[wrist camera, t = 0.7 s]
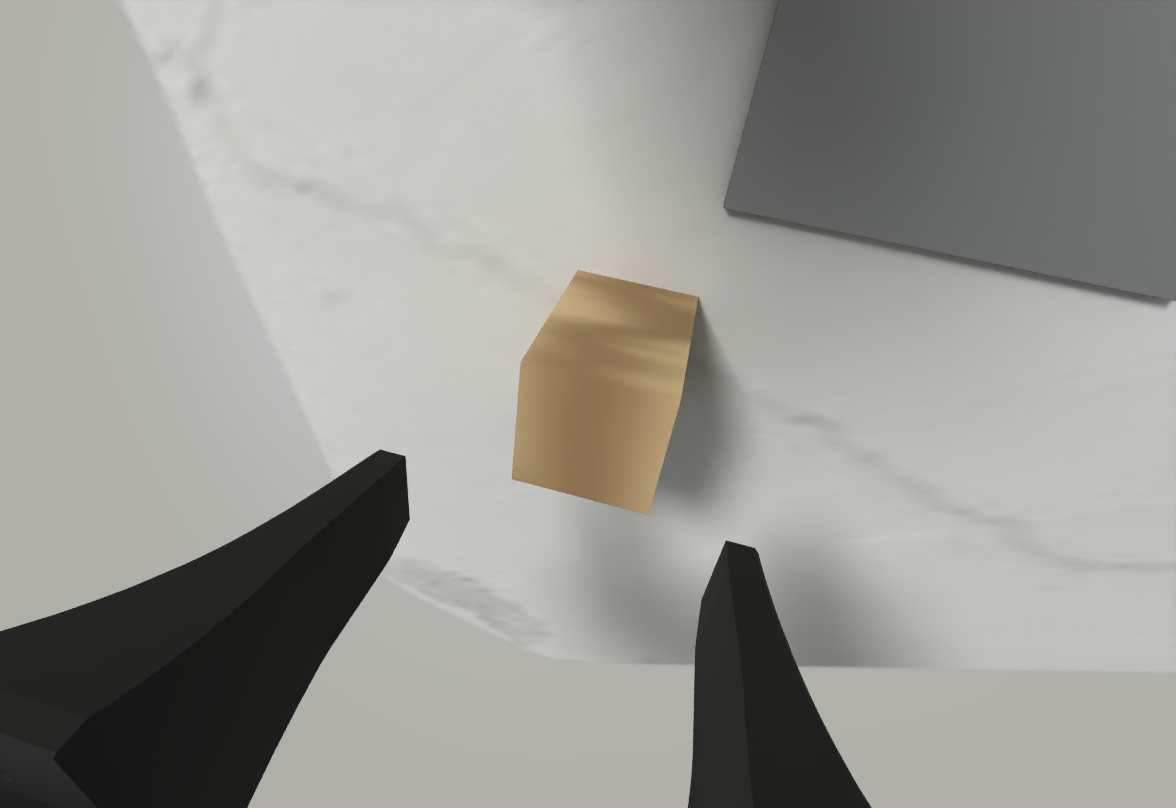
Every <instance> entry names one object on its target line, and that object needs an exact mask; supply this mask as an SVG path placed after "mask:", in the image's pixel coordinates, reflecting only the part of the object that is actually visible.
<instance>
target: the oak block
mask: <svg viewBox="0 0 1176 808" xmlns="http://www.w3.org/2000/svg"><path fill="white" fill-rule="evenodd" d="M698 298H699V297H696V296H692V295H687V294H683V293H678V292H674V291H669V290H665V289H660V288H656V287H651V286H647V285H642V284H638V283H633V282H629V281H624V280H620V279H615V278H611V277H606V276H602V275H597V274H593V273H588V272H584V271H579V270H578V271H577V273H576V274H575V276H574V278H573V279H572V281H571V282H570V284H569V286H568V287H567V289H566V290H565V292H564V294H563V295H562V297H561V298H560V300H559V302H558V303H557V305H556V306H555V308H554V310H553V311H552V313H551V314H550V316H549V318H548V319H547V321H546V322H545V324H544V326H543V327H542V329H541V330H540V332H539V334H538V335H537V337H536V338H535V340H534V342H533V343H532V345H531V346H530V348H529V350H528V351H527V353H526V354H525V356H524V358H523V359H522V361H521V367H520V380H519V393H518V406H517V418H516V431H515V444H514V457H513V470H512V479H514V480H517V481H521V482H525V483H529V484H533V485H536V486H540V487H544V488H548V489H552V490H556V491H559V492H563V493H567V494H571V495H575V496H578V497H582V498H586V499H590V500H594V501H597V502H601V503H605V504H609V505H613V506H617V507H620V508H624V509H628V510H632V511H636V512H639V513H643V514H647V515H649V511H650V508H651V504H652V501H653V497H654V494H655V490H656V486H657V483H658V479H659V476H660V472H661V469H662V465H663V462H664V458H665V455H666V451H667V448H668V444H669V440H670V437H671V433H672V430H673V426H674V423H675V419H676V416H677V412H678V409H679V405H680V402H681V397H682V391H683V385H684V379H685V373H686V368H687V362H688V356H689V350H690V344H691V339H692V333H693V327H694V321H695V315H696V309H697V304H698Z"/></svg>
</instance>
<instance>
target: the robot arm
mask: <svg viewBox="0 0 1176 808" xmlns="http://www.w3.org/2000/svg"><path fill="white" fill-rule="evenodd" d="M409 520H410V517H409V503H408V488H407V473H406V458H405V456H402V455H398V454H395V453H391V452H387V451H383V450H379V451H377V452H375V453H374V454H372V455H371V456H369V457H368V458H366V459H365V460H363V461H362V462H360V463H359V464H357V465H356V466H354V467H353V468H351V469H350V470H348V471H347V472H345V473H344V474H342V475H341V476H339V477H338V478H336V479H335V480H333V481H332V482H330V483H329V484H327V485H325V486H324V487H322V488H321V489H319V490H318V491H316V492H315V493H313V494H311V495H310V496H308V497H307V498H305V499H304V500H302V501H300V502H299V503H297V504H296V505H294V506H293V507H291V508H289V509H288V510H286V511H284V512H283V513H281V514H279V515H278V516H276V517H274V518H272V519H271V520H269V521H267V522H266V523H264V524H262V525H260V526H259V527H257V528H255V529H254V530H252V531H250V532H248V533H246V534H244V535H243V536H241V537H239V538H237V539H235V540H233V541H231V542H230V543H228V544H226V545H224V546H222V547H220V548H218V549H216V550H214V551H212V552H210V553H208V554H206V555H204V556H202V557H199V558H197V559H196V560H193V561H191V562H189V563H187V564H185V565H182V566H180V567H178V568H175V569H173V570H170V571H168V572H166V573H163V574H161V575H159V576H156V577H154V578H152V579H149V580H147V581H145V582H142V583H140V584H138V585H135V586H133V587H130V588H128V589H125V590H123V591H120V592H117V593H114V594H112V595H109V596H107V597H104V598H101V599H98V600H96V601H93V602H90V603H87V604H85V605H81V606H79V607H76V608H73V609H70V610H67V611H64V612H61V613H58V614H55V615H52V616H49V617H46V618H42V619H39V620H36V621H33V622H30V623H26V624H23V625H20V626H16V627H13V628H10V629H7V630H3V631H0V808H247V807H248V805H249V803H250V801H251V799H252V797H253V795H254V792H255V790H256V788H257V786H258V784H259V782H260V780H261V778H262V776H263V774H264V772H265V770H266V768H267V766H268V764H269V761H270V760H271V757H272V755H273V753H274V751H275V749H276V747H277V745H278V743H279V741H280V740H281V738H282V736H283V733H284V731H285V730H286V728H287V726H288V724H289V722H290V720H291V718H292V716H293V714H294V712H295V710H296V708H297V707H298V705H299V703H300V701H301V699H302V697H303V695H304V694H305V692H306V690H307V688H308V686H309V684H310V683H311V681H312V679H313V677H314V675H315V673H316V671H317V670H318V668H319V666H320V664H321V662H322V661H323V659H324V658H325V656H326V654H327V653H328V651H329V650H330V648H331V646H332V645H333V643H334V642H335V640H336V639H337V637H338V636H339V634H340V633H341V631H342V630H343V628H344V627H345V625H346V623H347V622H348V621H349V619H350V618H351V616H352V615H353V613H354V612H355V610H356V609H357V608H358V606H359V605H360V603H361V602H362V600H363V599H364V597H365V595H366V594H367V593H368V591H369V590H370V588H371V587H372V585H373V584H374V582H375V581H376V579H377V578H378V576H379V575H380V573H381V572H382V570H383V569H384V567H385V566H386V564H387V562H388V561H389V559H390V557H391V556H392V554H393V552H394V550H395V548H396V546H397V544H398V542H399V540H400V538H401V536H402V534H403V532H404V530H405V528H406V526H407V524H408V522H409ZM693 732H694V733H693V760H692V777H691V786H690V795H689V803H688V808H871V806H870V805H869V803H868V801H867V800H866V798H865V797H864V795H863V793H862V792H861V790H860V789H859V787H858V785H857V784H856V782H855V780H854V779H853V777H852V775H851V773H850V771H849V770H848V768H847V766H846V764H845V763H844V761H843V759H842V757H841V755H840V754H839V752H838V750H837V748H836V746H835V744H834V742H833V741H832V739H831V737H830V735H829V733H828V731H827V729H826V727H825V725H824V724H823V721H822V719H821V717H820V715H819V713H818V711H817V709H816V707H815V705H814V703H813V700H812V698H811V696H810V694H809V692H808V690H807V688H806V685H805V683H804V681H803V678H802V676H801V674H800V672H799V669H798V667H797V665H796V662H795V660H794V657H793V655H792V652H791V650H790V647H789V645H788V642H787V640H786V637H785V634H784V632H783V629H782V627H781V624H780V621H779V618H778V616H777V613H776V610H775V607H774V604H773V601H772V598H771V595H770V592H769V589H768V586H767V583H766V579H765V576H764V573H763V569H762V565H761V562H760V558H759V554H758V552H757V551H756V549H755V548H752V547H748V546H745V545H741V544H737V543H733V542H729V541H726V542H725V544H724V547H723V549H722V551H721V554H720V556H719V559H718V561H717V564H716V566H715V568H714V571H713V573H712V576H711V578H710V581H709V583H708V585H707V588H706V590H705V593H704V595H703V598H702V601H701V608H700V615H699V622H698V630H697V638H696V646H695V682H694V727H693Z"/></svg>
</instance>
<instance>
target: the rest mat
mask: <svg viewBox="0 0 1176 808" xmlns="http://www.w3.org/2000/svg"><path fill="white" fill-rule="evenodd" d="M723 208H725V209H730V210H735V211H740V212H745V213H750V214H755V215H759V216H764V217H769V218H774V219H779V220H784V221H789V222H794V223H798V224H803V225H808V226H813V227H818V228H823V229H828V230H832V231H837V232H842V233H847V234H852V235H857V236H862V237H867V238H871V239H876V240H881V241H886V242H891V243H896V244H901V245H906V246H910V247H915V248H920V249H925V250H930V251H935V252H940V253H944V254H949V255H954V256H959V257H964V258H969V259H974V260H979V261H983V262H988V263H993V264H998V265H1003V266H1008V267H1013V268H1018V269H1022V270H1027V271H1032V272H1037V273H1042V274H1047V275H1052V276H1056V277H1061V278H1066V279H1071V280H1076V281H1081V282H1086V283H1091V284H1095V285H1100V286H1105V287H1110V288H1115V289H1120V290H1125V291H1129V292H1134V293H1139V294H1144V295H1149V296H1154V297H1159V298H1164V299H1168V300H1173V301H1175V300H1176V0H779V1H778V5H777V9H776V13H775V16H774V20H773V24H772V27H771V31H770V35H769V39H768V42H767V46H766V50H765V53H764V57H763V61H762V64H761V68H760V72H759V76H758V79H757V83H756V87H755V90H754V94H753V98H752V101H751V105H750V109H749V113H748V116H747V120H746V124H745V127H744V131H743V135H742V139H741V142H740V146H739V150H738V153H737V157H736V161H735V164H734V168H733V172H732V176H731V179H730V183H729V187H728V190H727V194H726V198H725V201H724V206H723Z"/></svg>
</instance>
